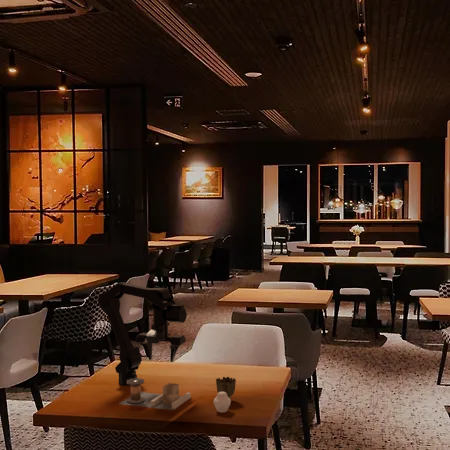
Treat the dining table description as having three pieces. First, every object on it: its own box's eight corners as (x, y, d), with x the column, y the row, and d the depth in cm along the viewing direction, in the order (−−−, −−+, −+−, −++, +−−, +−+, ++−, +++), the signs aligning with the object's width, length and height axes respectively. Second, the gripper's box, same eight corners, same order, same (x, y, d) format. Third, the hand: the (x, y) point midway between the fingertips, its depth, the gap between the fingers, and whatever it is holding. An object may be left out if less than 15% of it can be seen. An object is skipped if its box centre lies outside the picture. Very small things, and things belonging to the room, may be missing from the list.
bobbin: (123, 402, 232) (123, 381, 232) (132, 397, 238) (132, 377, 238) (139, 404, 230) (139, 383, 230) (147, 399, 236) (147, 378, 236)
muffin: (233, 412, 224) (232, 392, 223) (216, 414, 222) (215, 394, 222) (228, 407, 230) (227, 388, 229) (211, 409, 228) (211, 389, 228)
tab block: (162, 403, 231) (162, 386, 231) (168, 399, 236) (168, 383, 236) (173, 404, 230) (172, 387, 230) (178, 400, 235) (178, 384, 235)
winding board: (118, 407, 231) (117, 398, 231) (139, 394, 246) (139, 387, 246) (173, 413, 223) (173, 404, 223) (191, 400, 238) (191, 392, 238)
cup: (221, 404, 233) (221, 382, 233) (212, 399, 240) (212, 378, 239) (239, 401, 237) (239, 380, 236) (230, 396, 243) (230, 375, 243)
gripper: (129, 323, 246) (129, 363, 246) (173, 325, 239) (174, 367, 239) (142, 318, 256) (143, 357, 256) (185, 320, 250) (186, 360, 250)
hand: (161, 360), depth 250 cm, fingers open, 9 cm apart
